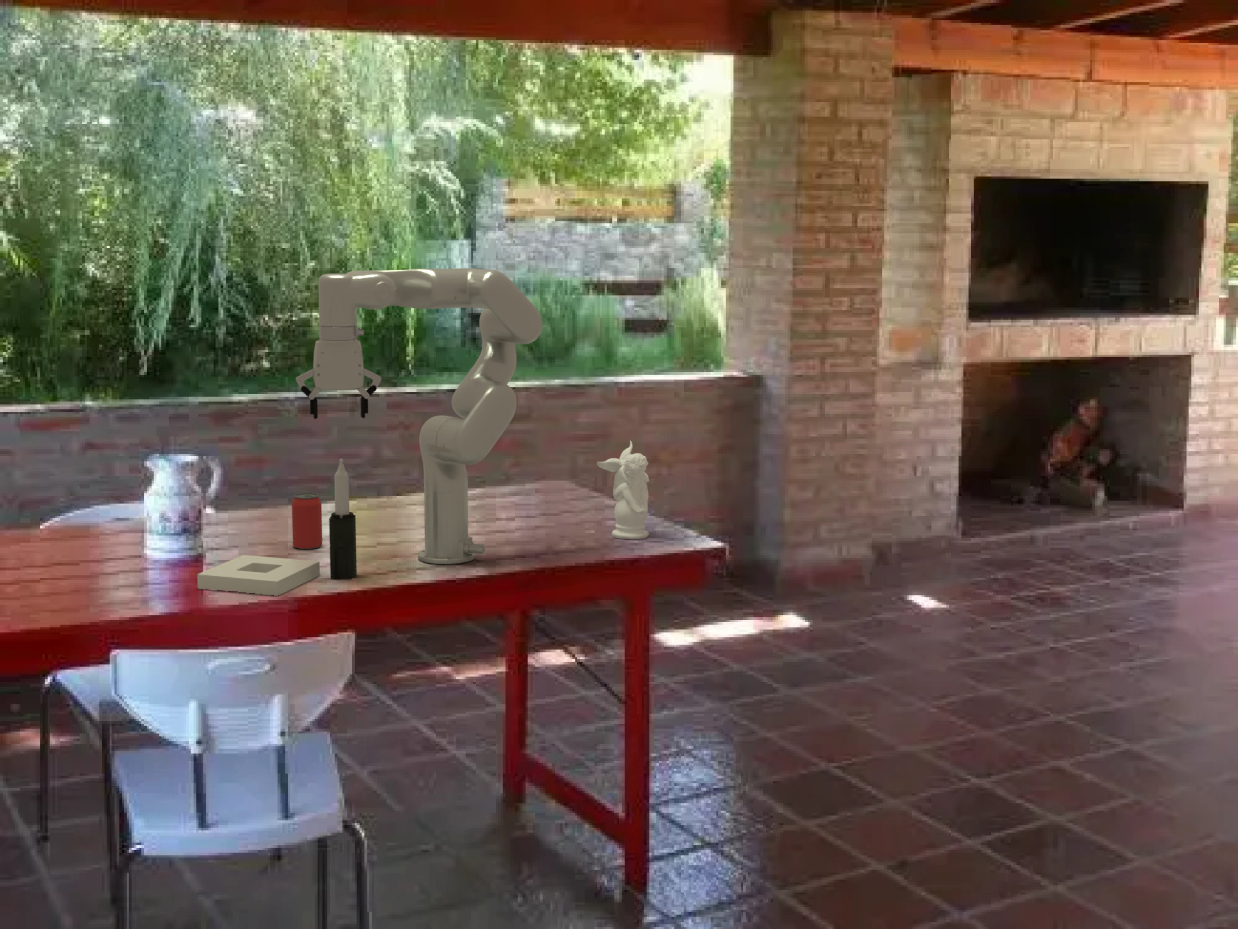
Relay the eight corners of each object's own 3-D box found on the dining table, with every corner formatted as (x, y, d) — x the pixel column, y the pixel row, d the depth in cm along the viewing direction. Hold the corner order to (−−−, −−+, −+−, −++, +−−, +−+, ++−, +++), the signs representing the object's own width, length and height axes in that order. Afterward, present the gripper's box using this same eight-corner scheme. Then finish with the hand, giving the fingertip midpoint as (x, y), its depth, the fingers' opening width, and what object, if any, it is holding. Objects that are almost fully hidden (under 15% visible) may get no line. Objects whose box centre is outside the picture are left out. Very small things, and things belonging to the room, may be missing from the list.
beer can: (315, 551, 351) (314, 498, 349) (288, 549, 352) (286, 497, 350) (326, 544, 357) (325, 493, 355) (299, 543, 358) (298, 491, 356)
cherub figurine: (649, 542, 364) (650, 448, 360) (595, 541, 364) (596, 448, 360) (647, 529, 376) (649, 439, 372) (596, 529, 376) (597, 439, 372)
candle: (357, 573, 331) (355, 456, 326) (354, 579, 326) (351, 460, 321) (333, 573, 331) (330, 456, 326) (329, 579, 326) (326, 460, 321)
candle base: (319, 575, 329) (319, 561, 328) (277, 596, 312) (277, 581, 311) (243, 568, 334) (243, 555, 333) (197, 588, 317) (197, 574, 316)
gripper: (379, 332, 325) (380, 414, 328) (294, 333, 321) (295, 415, 324) (382, 336, 318) (383, 419, 321) (295, 336, 314) (297, 420, 317)
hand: (339, 417), depth 322 cm, fingers open, 9 cm apart
